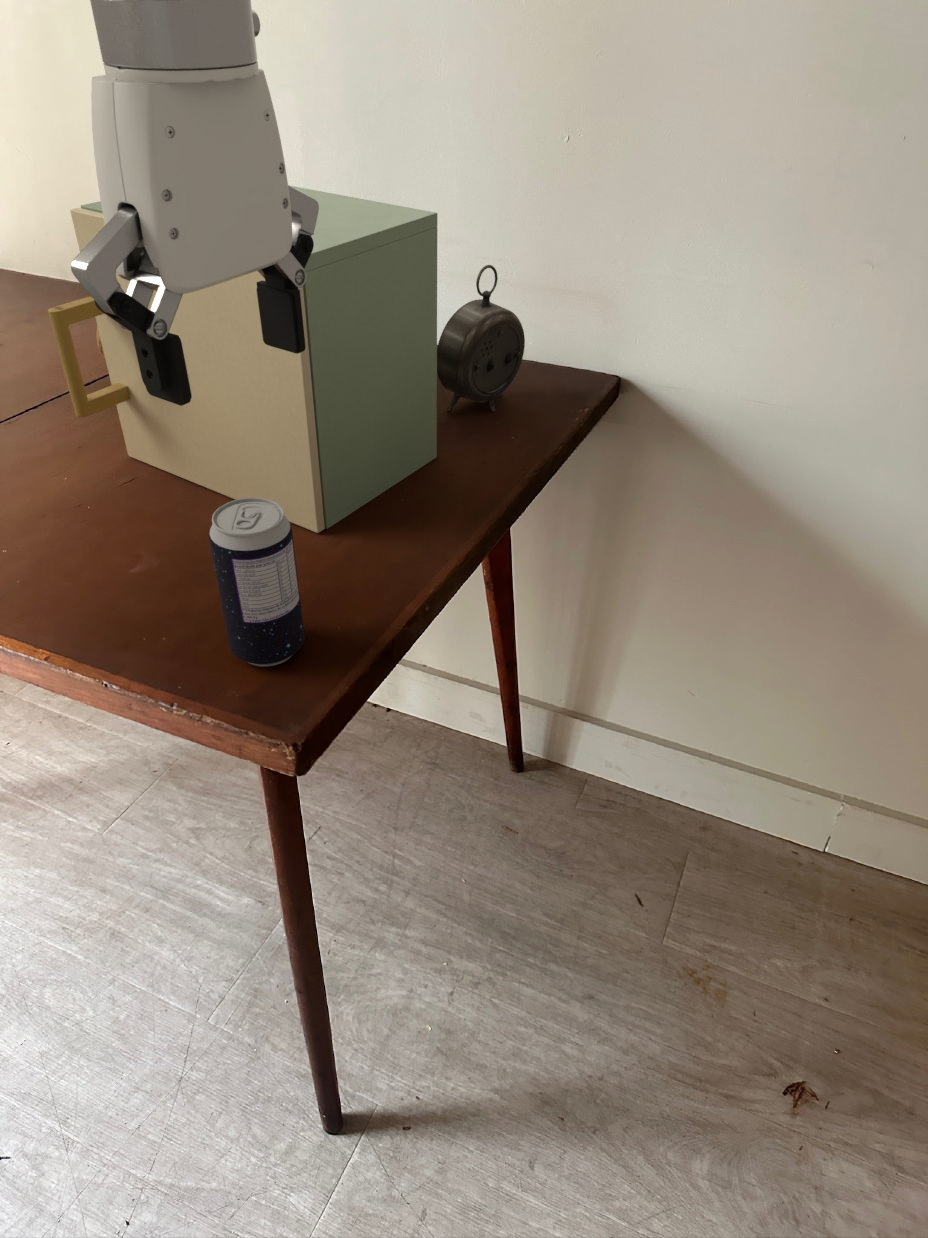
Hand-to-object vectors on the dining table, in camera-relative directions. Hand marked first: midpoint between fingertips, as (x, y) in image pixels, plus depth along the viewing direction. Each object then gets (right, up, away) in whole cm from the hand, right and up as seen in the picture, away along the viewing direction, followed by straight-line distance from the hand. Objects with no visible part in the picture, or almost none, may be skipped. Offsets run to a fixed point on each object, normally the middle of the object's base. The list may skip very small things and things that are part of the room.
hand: (230, 371), depth 53 cm
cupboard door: (-11, -4, +30) cm, 33 cm away
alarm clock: (+17, +10, +50) cm, 54 cm away
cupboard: (-4, +2, +39) cm, 39 cm away
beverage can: (-1, -18, +13) cm, 22 cm away
